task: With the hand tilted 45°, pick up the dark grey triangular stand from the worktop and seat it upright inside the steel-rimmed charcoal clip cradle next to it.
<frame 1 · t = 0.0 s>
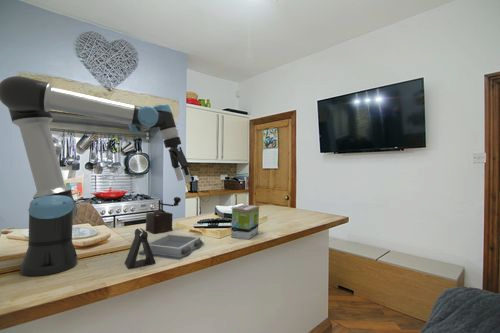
hand: (184, 181, 122), 28 cm above the table, tool tilted 20°, fingers open, 13 cm apart
tea box: (245, 235, 132), on the table
dark grey triangular stand: (140, 264, 91), on the table
dark brown handled box: (163, 230, 140), on the table
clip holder: (173, 249, 107), on the table
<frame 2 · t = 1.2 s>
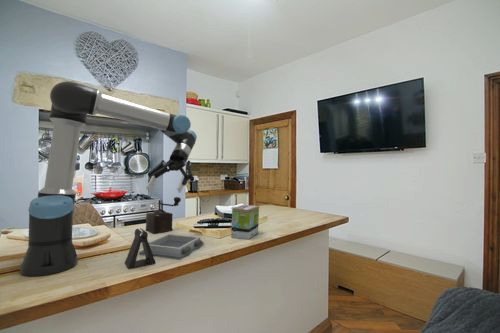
hand: (163, 190, 104), 25 cm above the table, tool tilted 45°, fingers open, 13 cm apart
nothing on the table moved.
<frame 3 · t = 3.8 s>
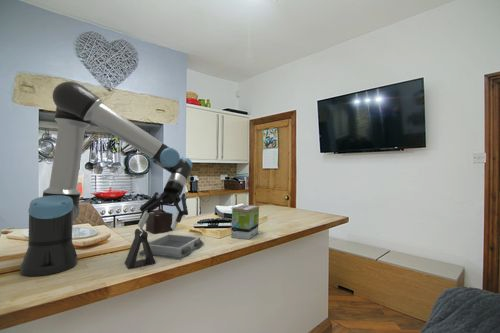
hand: (156, 227, 98), 11 cm above the table, tool tilted 45°, fingers open, 13 cm apart
nothing on the table moved.
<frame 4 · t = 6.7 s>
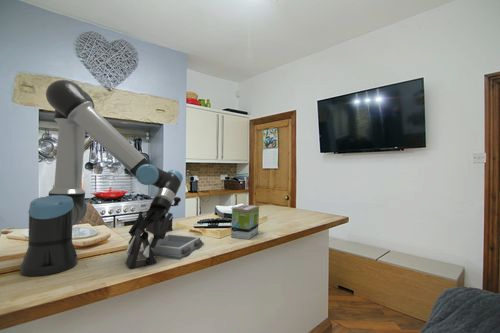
hand: (136, 254, 89), 4 cm above the table, tool tilted 45°, fingers closed on dark grey triangular stand, 6 cm apart
dark grey triangular stand: (140, 264, 91), on the table, touching gripper
everything else where it was.
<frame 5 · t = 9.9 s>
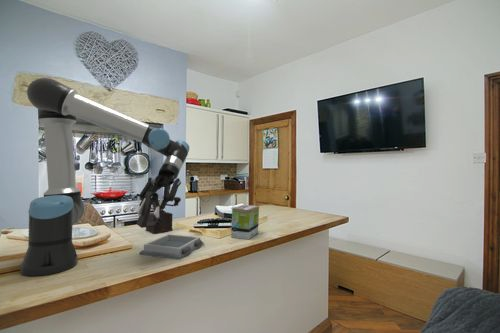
hand: (147, 215, 92), 17 cm above the table, tool tilted 45°, fingers closed on dark grey triangular stand, 6 cm apart
dark grey triangular stand: (151, 225, 94), point 13 cm above the table, touching gripper
everything else where it was.
when the fingers open (6 cm above the table, at t = 13.1 s): dark grey triangular stand drops 1 cm, resting on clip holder.
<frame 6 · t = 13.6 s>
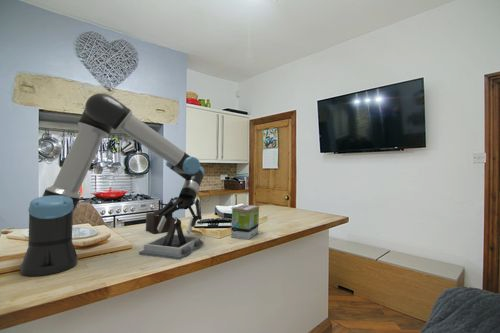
hand: (173, 231, 107), 8 cm above the table, tool tilted 45°, fingers open, 12 cm apart
dark grey triangular stand: (175, 247, 107), point 1 cm above the table, touching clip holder
everything else where it was.
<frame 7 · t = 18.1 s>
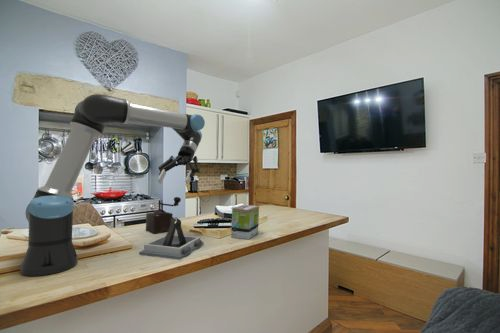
hand: (172, 181, 117), 28 cm above the table, tool tilted 45°, fingers open, 13 cm apart
nothing on the table moved.
at the end: dark grey triangular stand inside the target area on the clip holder (0.9 cm from its centre), point 0.8 cm above the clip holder's base; dark grey triangular stand tilted 0°; the gripper is holding nothing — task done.
